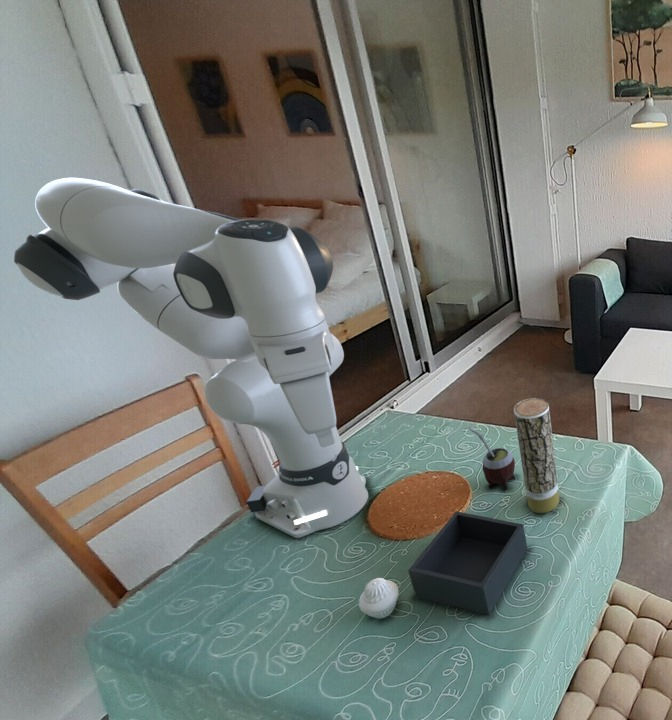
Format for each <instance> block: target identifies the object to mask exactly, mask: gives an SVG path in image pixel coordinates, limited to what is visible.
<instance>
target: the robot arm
mask: <svg viewBox="0 0 672 720" xmlns="http://www.w3.org/2000/svg"><path fill="white" fill-rule="evenodd" d="M34 206H35V211H36V213H37V215H38V217H39V218H40V220H41V221H42V223H43V224H44V225H45V227H46V228H45V229H43V230H42V231H40V232H39V233H35V234H33V235H32V234H28V235H27V237H26V239H25V240H24V241H23V242H22V243H21V244H19V246H18V247H17V248H16V249H15V250H14V257H13V262H14V263H15V265H16V266H17V267H18V269H19V270H20V272H21V274H22V275H23V276H24V278H25V279H27V281H29V283H31V284H32V285H33V286H35V287H36V288H39V289H40V290H42V291H44V292H46V293H49V294H51V295H54V296H57V297H60V298H62V299H64V300H71V301H80V300H85V299H87V298H90V297H92V296H95V295H97V294H99V293H101V290H103V289H105V288H107V287H110V286H112V285H114V284H116V283H117V292H118V295H119V296H120V298H121V299H122V300H123V301H124V302H125V304H127V305H128V306H129V307H130V308H131V309H132V310H133V311H134V313H136V314H137V315H139V316H140V317H141V318H142V319H143V320H144V321H146V322H147V323H148V324H150V325H151V326H153V327H154V328H156V329H157V330H158V331H159V332H161V333H162V334H164V335H166V336H167V337H169V338H171V339H172V340H174V341H175V342H176V343H178V344H180V345H181V346H183V347H184V348H185V349H187V350H189V352H192V353H193V354H195V355H196V356H198V357H201V358H204V359H208V360H234V361H232V362H229V363H228V364H227V365H226V366H224V367H223V368H221V369H220V370H219V371H218V372H216V373H215V374H214V375H213V376H211V378H209V379H208V380H207V381H206V383H205V386H204V398H205V402H206V404H207V406H208V407H209V409H210V410H211V411H212V412H213V414H215V415H216V416H217V417H219V418H220V419H223V420H225V421H226V422H229V423H232V424H237V425H246V426H247V425H248V426H253V427H255V428H256V429H258V430H259V431H261V432H262V433H263V434H264V435H265V436H266V437H267V439H268V440H269V442H270V444H271V446H272V448H273V450H274V452H275V454H276V456H277V458H278V459H277V460H276V461H274V462H273V463H271V465H272V466H273V469H275V468H277V467H278V473H277V475H275V476H274V477H273V478H272V479H271V480H270V481H269V482H268V483H267V484H265V485H260V486H256V487H255V489H254V490H253V491H252V492H251V494H250V496H249V497H248V498H247V500H246V502H245V503H246V505H247V506H248V509H249V511H250V513H254V515H255V518H257V519H258V520H259V521H261V522H264V523H266V524H268V525H269V526H271V527H273V528H275V529H277V530H280V531H281V532H282V533H285V534H287V535H289V536H291V537H292V538H295V539H300V538H303V537H306V536H308V535H311V534H312V533H315V532H318V531H321V530H322V531H323V530H326V529H329V528H334V527H336V526H339V525H341V524H342V523H344V522H346V521H348V520H349V519H351V518H353V517H354V516H356V515H357V514H358V513H359V512H361V510H362V509H363V508H364V507H365V505H366V504H367V502H368V500H369V492H368V490H367V487H366V483H367V480H366V477H365V476H364V475H361V474H360V472H359V467H358V466H357V465H356V464H355V462H354V460H353V458H352V457H351V456H350V455H349V453H348V452H349V451H348V448H347V446H346V444H345V442H343V441H342V440H341V436H340V434H339V431H338V428H337V413H336V407H335V403H334V396H333V392H332V386H331V381H330V377H331V375H332V374H334V372H335V371H336V370H337V369H338V368H339V367H340V366H341V364H342V363H343V361H344V358H345V352H344V349H343V346H342V344H341V342H340V341H339V339H338V338H337V337H336V336H335V335H334V334H332V333H331V332H330V328H329V326H328V322H327V319H326V315H325V313H324V312H323V309H321V307H320V305H319V304H318V301H317V297H316V294H320V293H323V292H324V291H325V289H326V288H327V286H328V284H329V282H330V280H331V278H332V274H333V270H334V261H333V258H332V255H331V252H330V250H329V249H328V248H327V246H326V245H325V244H324V243H323V241H321V240H320V239H319V238H318V237H316V236H315V235H314V234H312V233H310V232H309V231H307V230H305V229H303V228H301V227H299V226H290V227H289V226H287V225H285V224H284V223H281V222H278V221H276V220H270V219H255V218H249V219H248V218H245V219H241V218H239V217H238V218H237V217H235V216H231V215H228V214H227V215H226V214H223V213H219V212H214V211H209V210H204V209H199V208H194V207H190V206H185V205H180V204H176V203H171V202H167V201H164V200H163V199H161V198H159V197H158V196H156V195H155V194H153V193H151V192H149V191H147V190H142V189H140V188H133V189H126V188H123V187H121V186H119V185H114V184H111V183H108V182H104V181H100V180H95V179H90V178H82V177H81V178H80V177H63V178H58V179H55V180H52V181H50V182H48V183H46V184H45V185H43V186H42V187H41V188H40V189H39V190H38V192H37V194H36V196H35V201H34Z"/></svg>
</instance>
